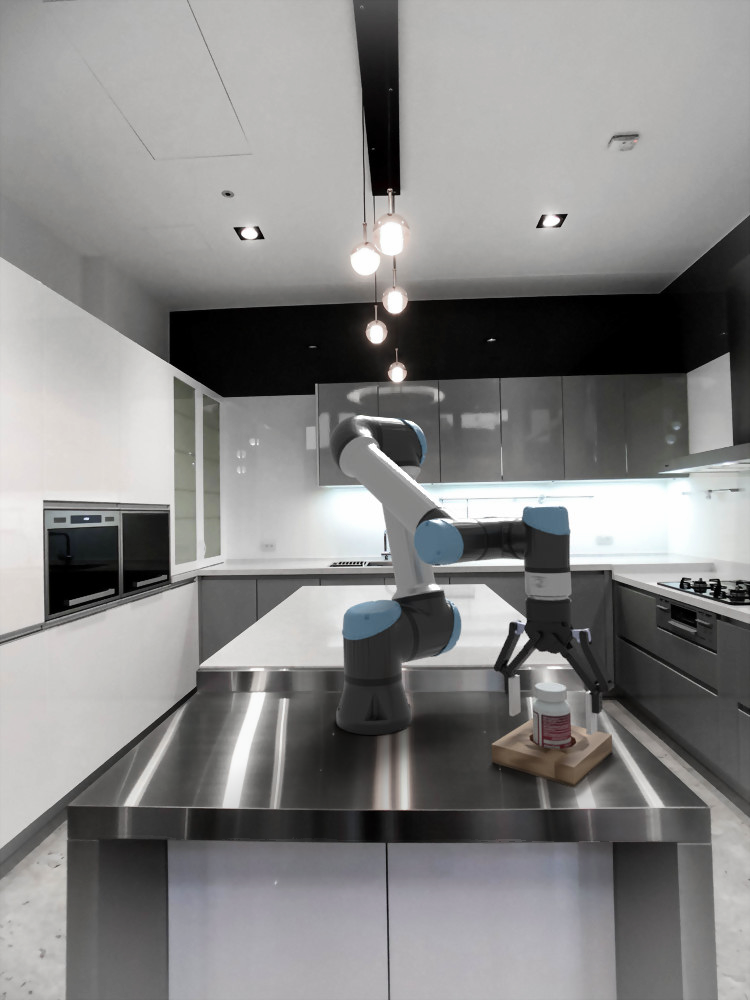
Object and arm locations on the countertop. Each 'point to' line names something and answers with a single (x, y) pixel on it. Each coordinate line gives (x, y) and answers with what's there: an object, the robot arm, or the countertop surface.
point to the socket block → (553, 754)
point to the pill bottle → (551, 716)
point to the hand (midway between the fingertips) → (551, 722)
